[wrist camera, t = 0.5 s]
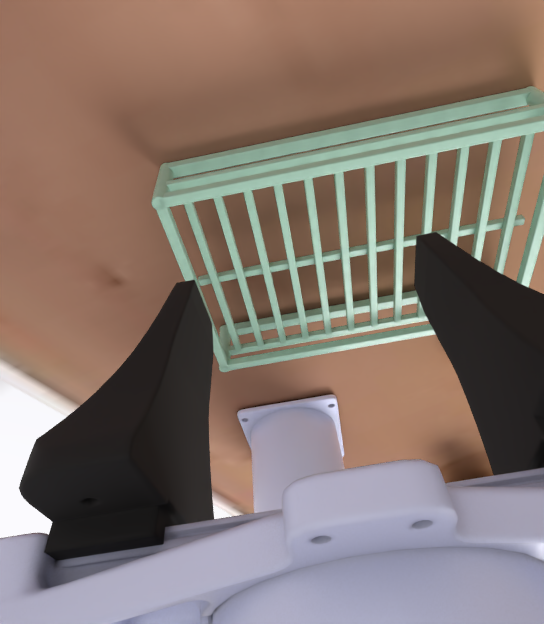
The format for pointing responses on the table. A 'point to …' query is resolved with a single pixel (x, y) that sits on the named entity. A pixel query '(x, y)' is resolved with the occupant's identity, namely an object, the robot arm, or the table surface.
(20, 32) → the table surface
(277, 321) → the rack
